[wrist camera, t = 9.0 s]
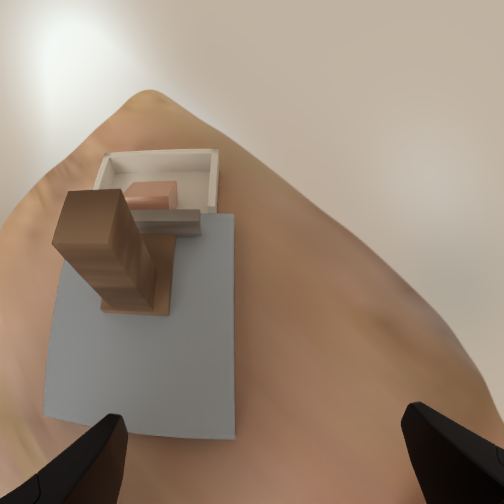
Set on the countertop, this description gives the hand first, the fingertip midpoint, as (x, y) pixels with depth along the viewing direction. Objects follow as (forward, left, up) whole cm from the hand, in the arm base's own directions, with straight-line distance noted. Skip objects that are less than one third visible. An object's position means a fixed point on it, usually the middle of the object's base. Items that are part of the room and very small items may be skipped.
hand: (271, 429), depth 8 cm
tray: (+19, +8, -14) cm, 25 cm away
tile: (+16, +8, -12) cm, 22 cm away
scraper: (+11, +8, -12) cm, 18 cm away
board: (+7, +8, -14) cm, 17 cm away
